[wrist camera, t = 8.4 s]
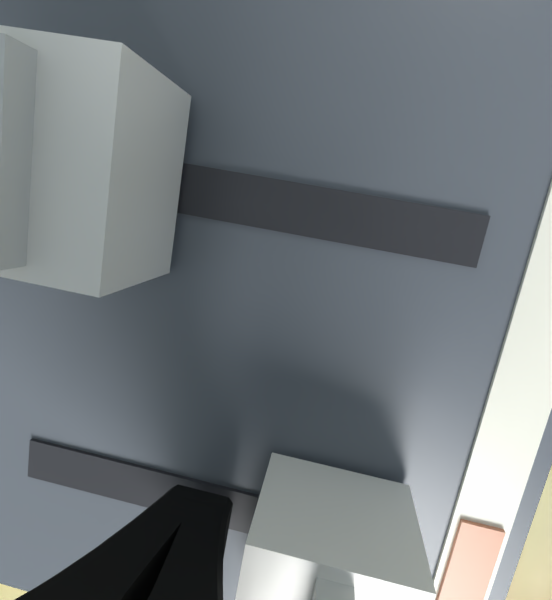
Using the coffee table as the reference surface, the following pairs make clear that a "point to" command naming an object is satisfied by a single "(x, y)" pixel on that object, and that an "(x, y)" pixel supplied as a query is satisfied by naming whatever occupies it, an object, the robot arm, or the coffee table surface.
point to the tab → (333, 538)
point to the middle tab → (86, 162)
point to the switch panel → (308, 284)
